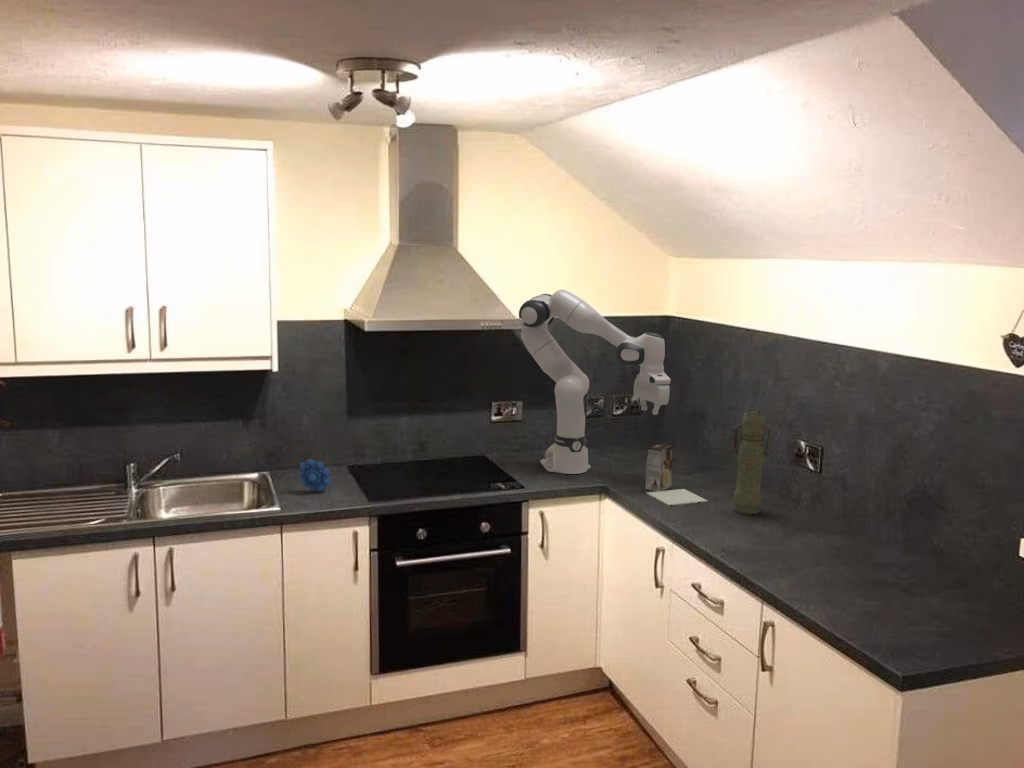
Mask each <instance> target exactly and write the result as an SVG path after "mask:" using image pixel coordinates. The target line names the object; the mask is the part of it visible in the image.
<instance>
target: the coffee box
mask: <svg viewBox="0 0 1024 768" xmlns="http://www.w3.org/2000/svg"><path fill="white" fill-rule="evenodd" d="M646 451H647V453H646V467H645V468H646V469H645V471H646V472H645V490H647V489H649V490H648V491H652V490H653V491H652V492H657V491H667V490H669V489H670V488H672V481H673V480H672V476H673V461H674V445H670V444H663V443H656V444H654V445H651V446H648V447H647V450H646Z"/></svg>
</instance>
